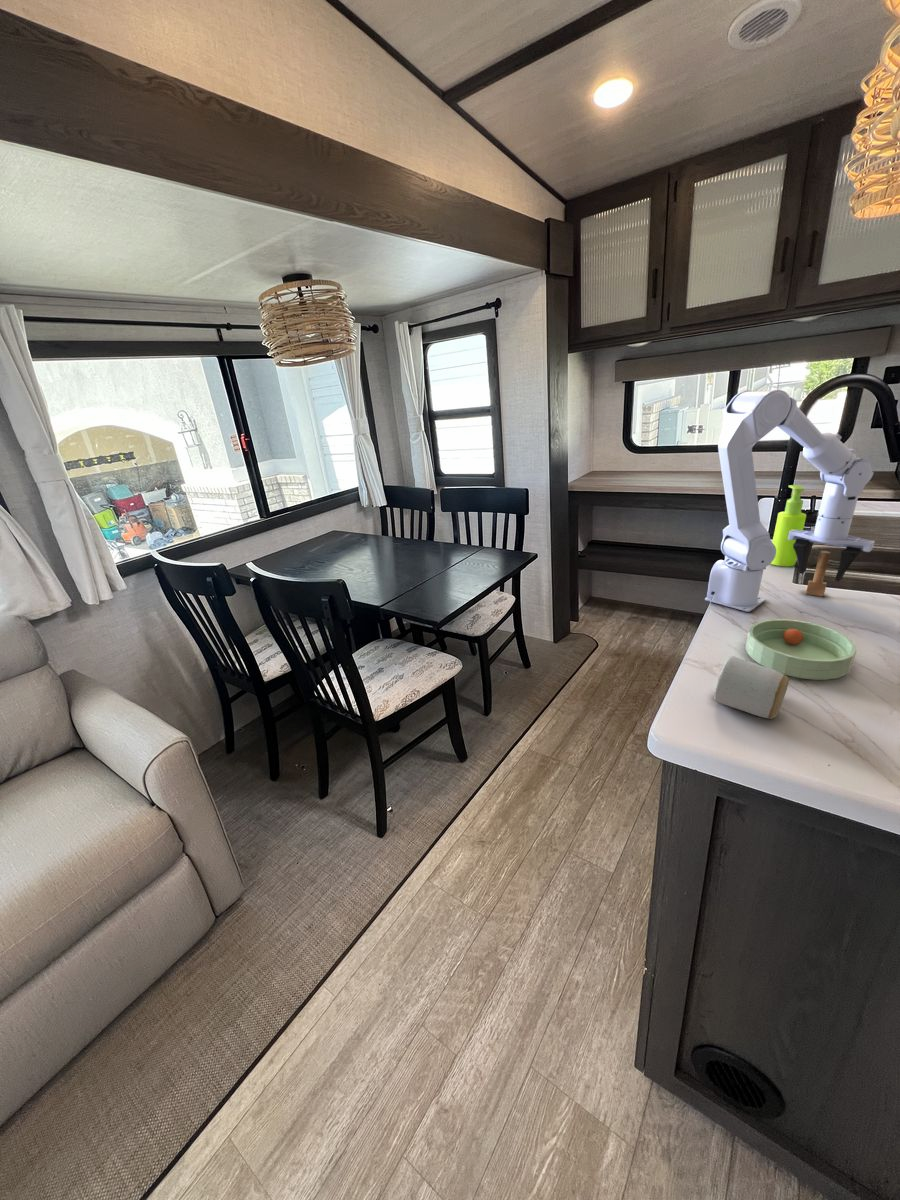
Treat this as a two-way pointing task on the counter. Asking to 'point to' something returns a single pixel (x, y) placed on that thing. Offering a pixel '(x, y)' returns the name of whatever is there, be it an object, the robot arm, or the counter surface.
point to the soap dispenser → (788, 528)
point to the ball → (793, 636)
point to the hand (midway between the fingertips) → (819, 575)
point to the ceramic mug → (751, 687)
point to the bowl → (801, 649)
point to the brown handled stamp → (819, 576)
